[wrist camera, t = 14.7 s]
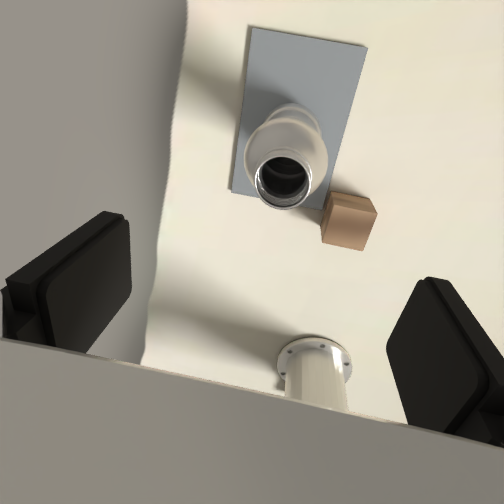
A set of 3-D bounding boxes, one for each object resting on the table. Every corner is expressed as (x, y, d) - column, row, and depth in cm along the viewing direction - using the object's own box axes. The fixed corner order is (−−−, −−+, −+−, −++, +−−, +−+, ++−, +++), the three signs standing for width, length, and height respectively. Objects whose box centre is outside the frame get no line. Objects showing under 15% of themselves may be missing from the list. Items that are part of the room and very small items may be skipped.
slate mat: (321, 208, 42) (321, 210, 42) (232, 191, 43) (231, 192, 42) (367, 48, 33) (368, 47, 33) (253, 28, 34) (252, 27, 33)
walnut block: (356, 233, 44) (362, 251, 39) (320, 225, 44) (322, 242, 39) (369, 198, 41) (377, 213, 37) (330, 190, 41) (334, 204, 37)
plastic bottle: (296, 171, 40) (292, 248, 23) (252, 136, 39) (211, 190, 21) (332, 126, 37) (359, 176, 20) (286, 87, 36) (270, 103, 18)
